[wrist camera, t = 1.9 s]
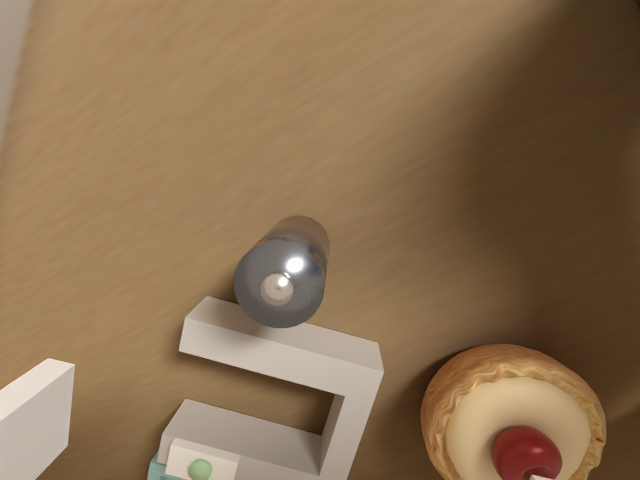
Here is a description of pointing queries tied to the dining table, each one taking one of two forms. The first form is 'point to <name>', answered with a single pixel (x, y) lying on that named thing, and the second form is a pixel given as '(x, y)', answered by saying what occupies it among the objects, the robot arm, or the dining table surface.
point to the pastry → (511, 417)
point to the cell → (284, 274)
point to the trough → (159, 471)
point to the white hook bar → (260, 435)
